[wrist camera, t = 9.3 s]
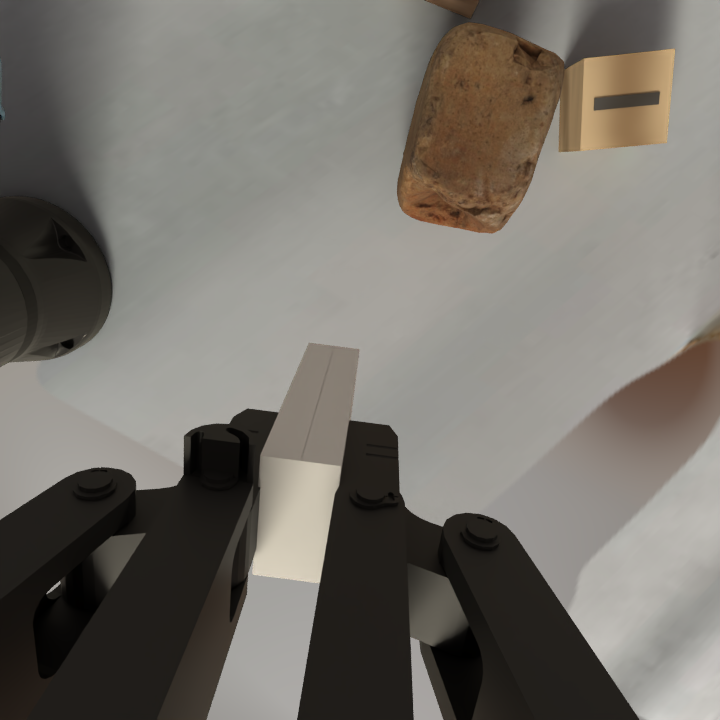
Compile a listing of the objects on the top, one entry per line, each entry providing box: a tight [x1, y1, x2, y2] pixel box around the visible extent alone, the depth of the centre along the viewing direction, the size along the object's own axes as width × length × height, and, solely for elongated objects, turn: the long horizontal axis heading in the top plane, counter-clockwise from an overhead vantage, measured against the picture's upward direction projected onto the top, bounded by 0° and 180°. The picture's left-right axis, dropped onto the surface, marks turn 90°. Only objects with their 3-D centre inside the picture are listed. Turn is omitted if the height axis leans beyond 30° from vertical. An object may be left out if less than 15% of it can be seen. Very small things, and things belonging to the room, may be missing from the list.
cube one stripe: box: [559, 49, 675, 152], centre depth 42 cm, size 6×6×6 cm
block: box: [397, 22, 564, 233], centre depth 37 cm, size 11×8×20 cm
